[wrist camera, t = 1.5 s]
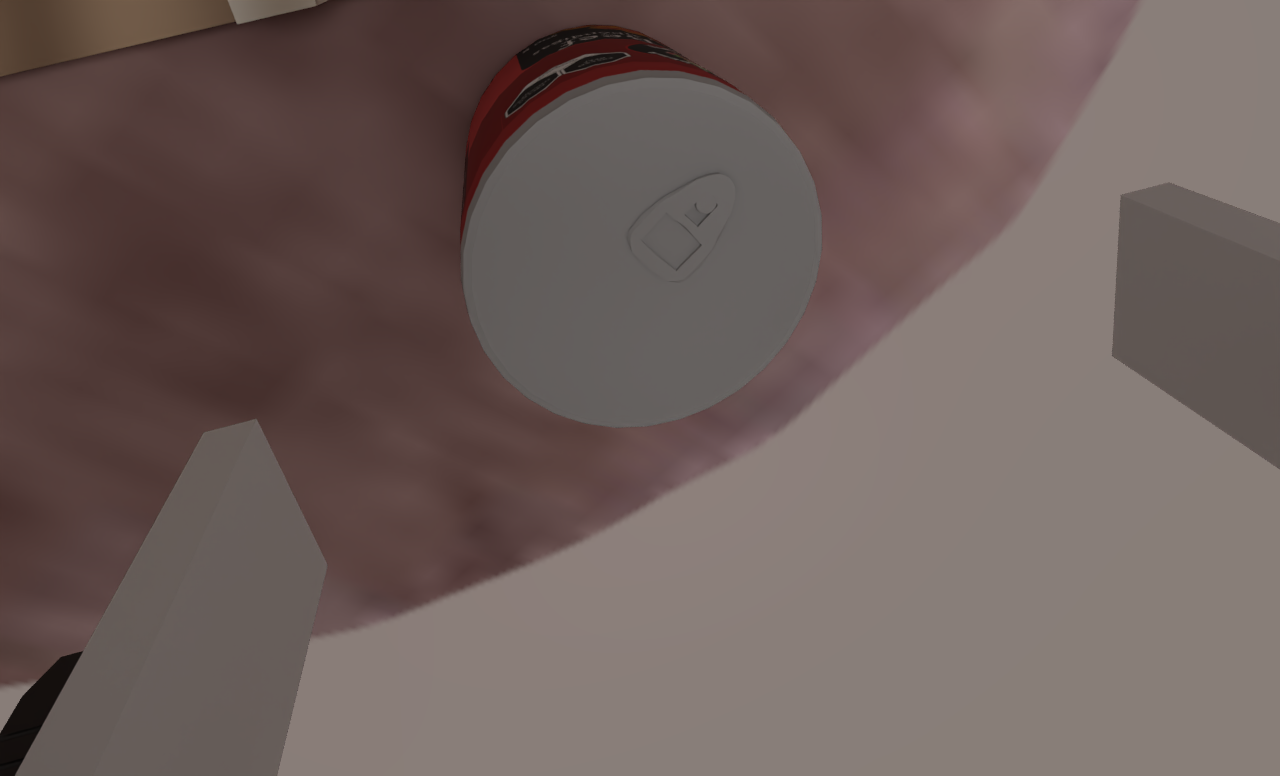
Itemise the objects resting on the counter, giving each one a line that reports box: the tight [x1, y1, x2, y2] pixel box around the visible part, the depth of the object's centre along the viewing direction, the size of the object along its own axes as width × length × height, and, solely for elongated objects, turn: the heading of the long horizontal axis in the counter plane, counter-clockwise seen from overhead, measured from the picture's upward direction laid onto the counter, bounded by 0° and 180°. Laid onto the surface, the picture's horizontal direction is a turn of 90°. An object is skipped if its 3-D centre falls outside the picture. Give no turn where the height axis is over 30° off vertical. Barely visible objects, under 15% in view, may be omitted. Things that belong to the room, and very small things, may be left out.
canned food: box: [460, 25, 822, 428], centre depth 24 cm, size 8×8×11 cm
